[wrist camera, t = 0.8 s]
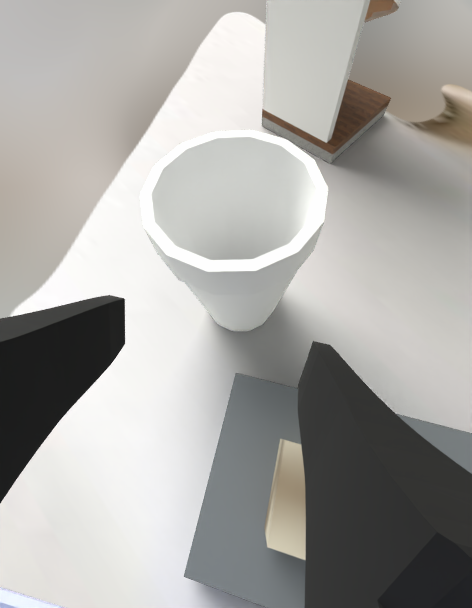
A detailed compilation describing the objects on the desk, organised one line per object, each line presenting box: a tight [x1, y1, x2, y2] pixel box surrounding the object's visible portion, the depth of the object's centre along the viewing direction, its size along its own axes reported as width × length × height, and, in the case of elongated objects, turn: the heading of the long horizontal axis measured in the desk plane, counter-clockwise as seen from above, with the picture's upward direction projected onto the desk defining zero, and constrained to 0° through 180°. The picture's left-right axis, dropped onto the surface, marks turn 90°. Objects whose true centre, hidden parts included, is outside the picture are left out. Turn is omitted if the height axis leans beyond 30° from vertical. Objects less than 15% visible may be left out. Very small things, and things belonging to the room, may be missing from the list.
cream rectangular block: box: [264, 439, 306, 560], centre depth 16 cm, size 5×3×3 cm
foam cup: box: [140, 130, 328, 331], centre depth 20 cm, size 10×9×13 cm
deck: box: [184, 373, 472, 608], centre depth 18 cm, size 12×21×2 cm, turn 75°
